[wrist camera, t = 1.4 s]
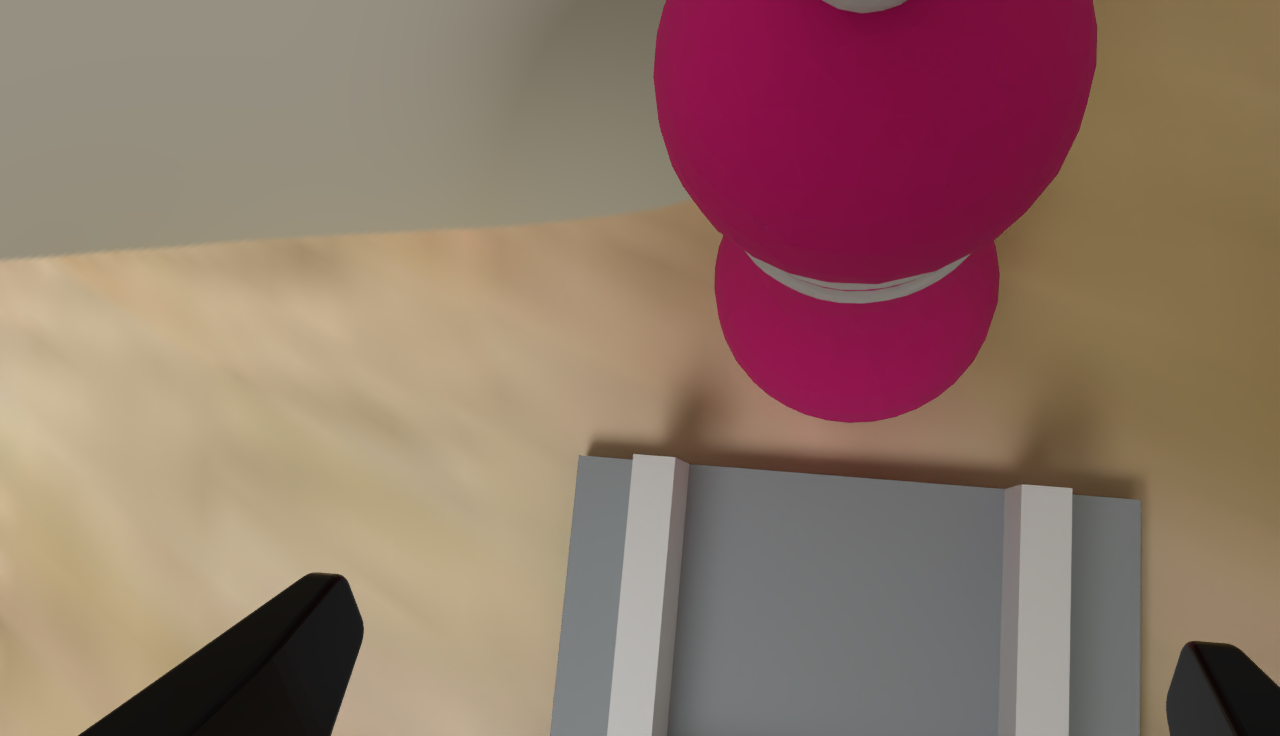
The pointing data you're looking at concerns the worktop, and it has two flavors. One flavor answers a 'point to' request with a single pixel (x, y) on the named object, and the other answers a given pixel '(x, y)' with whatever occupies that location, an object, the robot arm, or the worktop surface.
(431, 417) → the worktop surface
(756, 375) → the pepper mill
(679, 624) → the rail dock
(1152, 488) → the worktop surface
